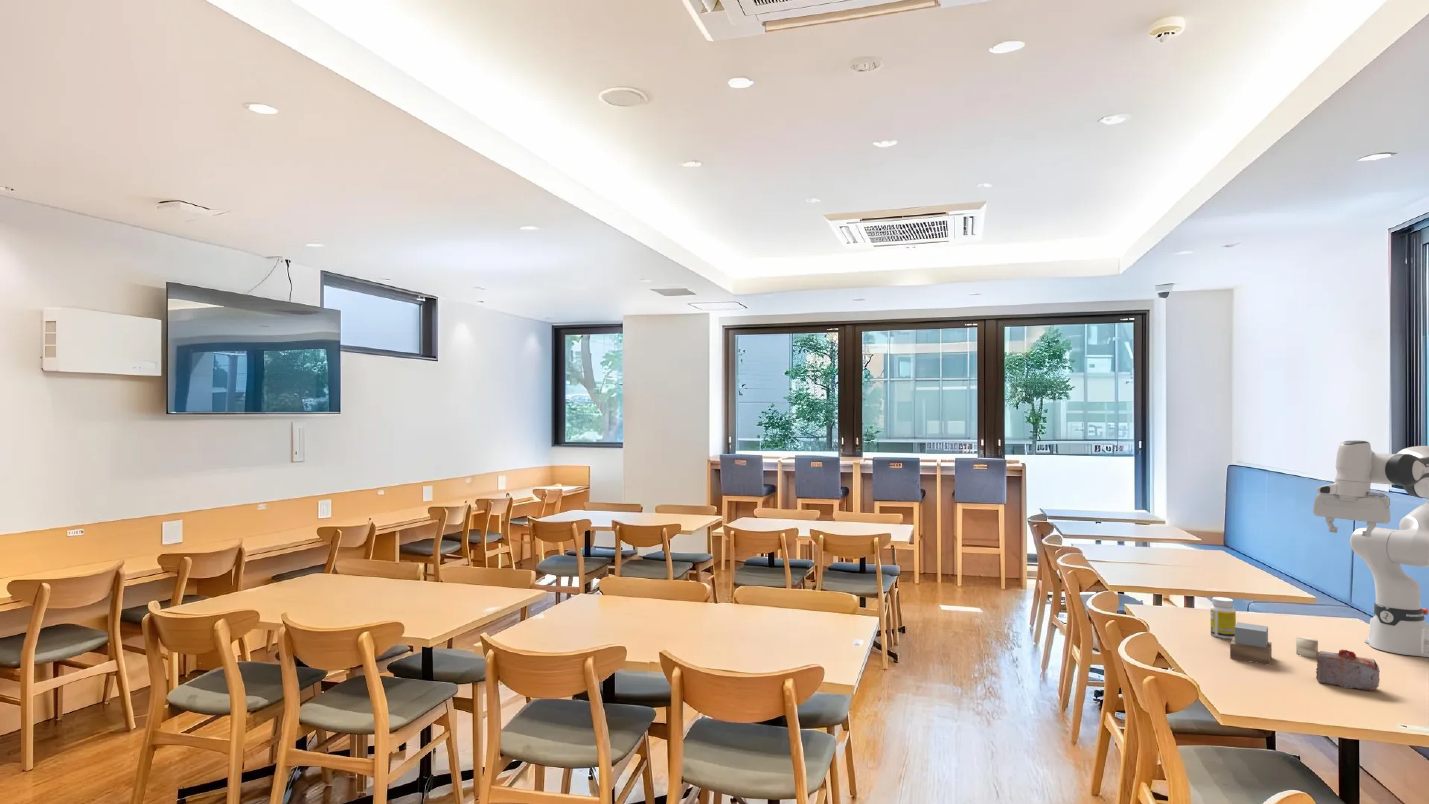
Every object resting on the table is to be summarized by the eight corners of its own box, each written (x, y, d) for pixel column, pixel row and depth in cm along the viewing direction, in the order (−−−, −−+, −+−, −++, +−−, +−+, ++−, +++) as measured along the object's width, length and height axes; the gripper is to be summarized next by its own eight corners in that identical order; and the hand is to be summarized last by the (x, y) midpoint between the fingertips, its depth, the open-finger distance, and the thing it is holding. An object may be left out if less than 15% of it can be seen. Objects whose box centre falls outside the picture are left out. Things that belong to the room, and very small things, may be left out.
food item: (1376, 686, 218) (1376, 651, 218) (1380, 694, 211) (1380, 658, 212) (1315, 677, 226) (1315, 642, 226) (1317, 684, 219) (1317, 649, 219)
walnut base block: (1233, 652, 250) (1233, 636, 250) (1271, 658, 244) (1271, 642, 244) (1230, 659, 242) (1230, 643, 243) (1269, 666, 236) (1269, 649, 236)
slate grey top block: (1237, 637, 249) (1237, 622, 249) (1268, 642, 244) (1267, 626, 244) (1234, 643, 243) (1234, 627, 243) (1266, 648, 238) (1265, 631, 238)
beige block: (1303, 652, 250) (1303, 636, 250) (1322, 656, 245) (1322, 641, 245) (1292, 653, 248) (1292, 637, 248) (1310, 658, 243) (1310, 642, 243)
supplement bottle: (1240, 638, 265) (1240, 600, 265) (1226, 640, 263) (1226, 602, 263) (1219, 632, 272) (1219, 595, 272) (1205, 634, 269) (1205, 597, 270)
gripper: (1396, 494, 238) (1394, 540, 237) (1324, 489, 257) (1321, 530, 256) (1383, 493, 236) (1381, 538, 235) (1311, 487, 255) (1308, 529, 254)
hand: (1349, 534), depth 246 cm, fingers open, 8 cm apart
